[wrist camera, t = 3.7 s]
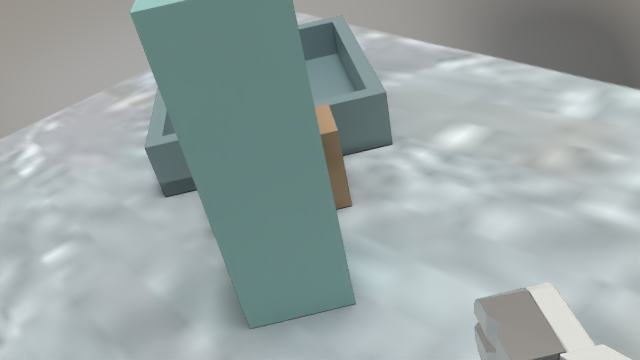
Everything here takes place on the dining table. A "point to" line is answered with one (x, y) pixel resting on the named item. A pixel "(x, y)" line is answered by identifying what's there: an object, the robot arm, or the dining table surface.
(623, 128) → the dining table surface
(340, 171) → the brown rectangular block
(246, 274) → the peg
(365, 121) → the tray
